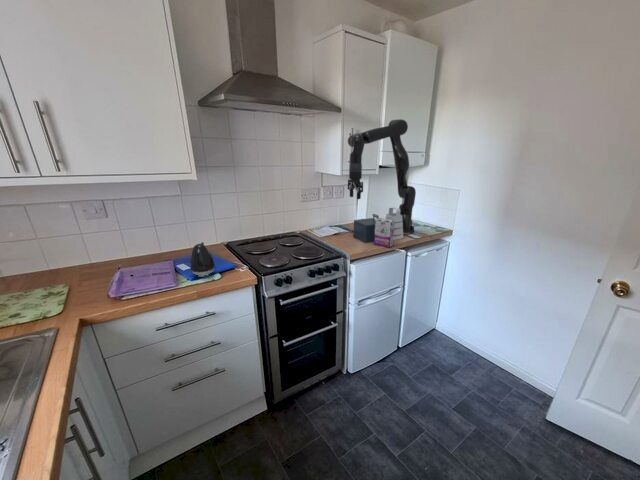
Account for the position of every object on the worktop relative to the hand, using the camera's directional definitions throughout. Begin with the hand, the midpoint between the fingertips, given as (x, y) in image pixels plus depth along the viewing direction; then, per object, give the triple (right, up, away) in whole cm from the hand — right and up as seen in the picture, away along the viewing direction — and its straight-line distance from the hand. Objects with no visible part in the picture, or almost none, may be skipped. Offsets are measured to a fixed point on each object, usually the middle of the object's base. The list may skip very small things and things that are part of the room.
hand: (355, 197), depth 185 cm
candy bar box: (+18, -29, +4) cm, 34 cm away
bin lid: (+9, -14, +12) cm, 21 cm away
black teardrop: (-72, -46, -44) cm, 96 cm away
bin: (+9, -24, +16) cm, 30 cm away
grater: (+26, -23, +20) cm, 40 cm away
